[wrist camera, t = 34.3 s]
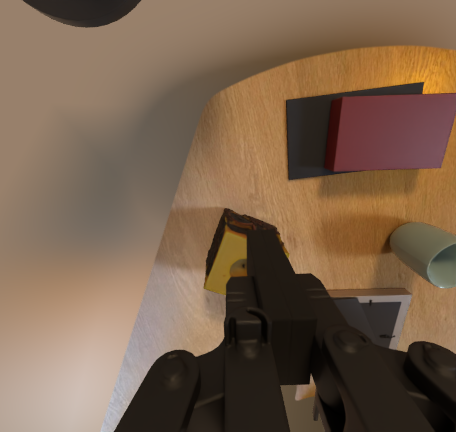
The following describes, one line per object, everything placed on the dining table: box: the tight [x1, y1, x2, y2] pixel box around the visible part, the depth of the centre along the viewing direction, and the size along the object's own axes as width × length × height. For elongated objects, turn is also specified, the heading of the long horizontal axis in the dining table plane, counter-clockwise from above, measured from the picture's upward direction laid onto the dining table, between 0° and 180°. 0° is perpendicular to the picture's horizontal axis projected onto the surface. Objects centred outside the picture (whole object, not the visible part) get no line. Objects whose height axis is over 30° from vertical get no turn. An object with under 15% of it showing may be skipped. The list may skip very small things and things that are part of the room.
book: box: [324, 93, 456, 172], centre depth 34 cm, size 10×4×16 cm
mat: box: [286, 82, 424, 180], centre depth 36 cm, size 20×12×1 cm, turn 97°
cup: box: [389, 222, 456, 288], centre depth 37 cm, size 8×8×10 cm
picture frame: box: [326, 288, 412, 350], centre depth 48 cm, size 16×3×21 cm
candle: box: [204, 208, 289, 295], centre depth 37 cm, size 10×10×10 cm
